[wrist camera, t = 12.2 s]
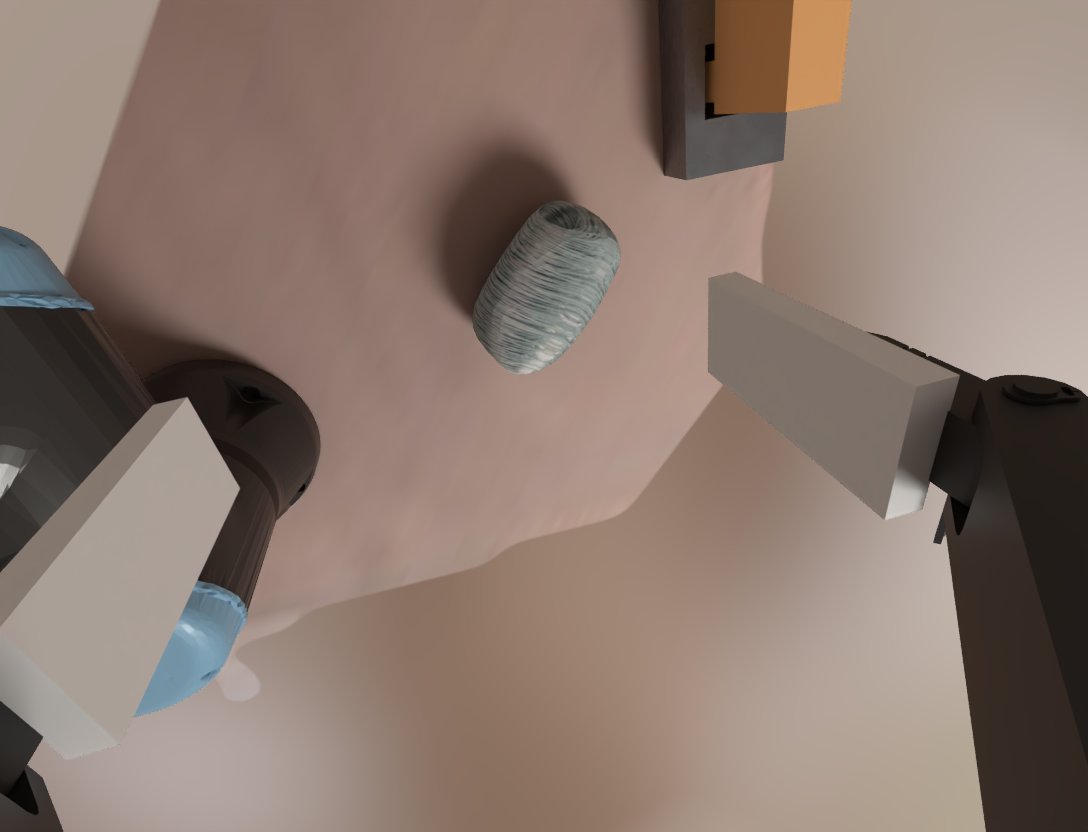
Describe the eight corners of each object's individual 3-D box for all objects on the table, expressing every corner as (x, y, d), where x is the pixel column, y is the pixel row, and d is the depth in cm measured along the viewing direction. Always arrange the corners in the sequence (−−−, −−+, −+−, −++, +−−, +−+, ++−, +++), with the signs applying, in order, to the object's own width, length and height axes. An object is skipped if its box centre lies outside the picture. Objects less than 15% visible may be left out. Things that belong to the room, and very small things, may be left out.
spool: (538, 152, 37) (600, 242, 33) (609, 211, 45) (668, 292, 40) (426, 286, 43) (466, 379, 39) (505, 319, 51) (546, 400, 46)
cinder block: (664, 175, 43) (686, 180, 40) (652, -171, 33) (680, -204, 30) (754, 157, 44) (783, 160, 41) (770, -186, 34) (810, -220, 30)
